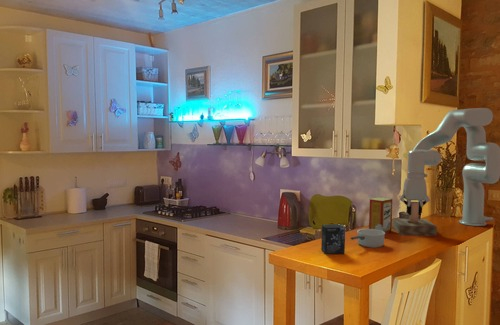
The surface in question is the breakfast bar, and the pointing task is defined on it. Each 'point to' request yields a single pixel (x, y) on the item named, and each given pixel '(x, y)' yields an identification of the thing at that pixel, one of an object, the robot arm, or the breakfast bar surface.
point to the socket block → (414, 227)
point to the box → (333, 239)
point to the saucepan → (370, 237)
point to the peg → (414, 212)
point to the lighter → (379, 227)
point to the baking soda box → (380, 212)
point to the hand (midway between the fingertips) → (414, 214)
